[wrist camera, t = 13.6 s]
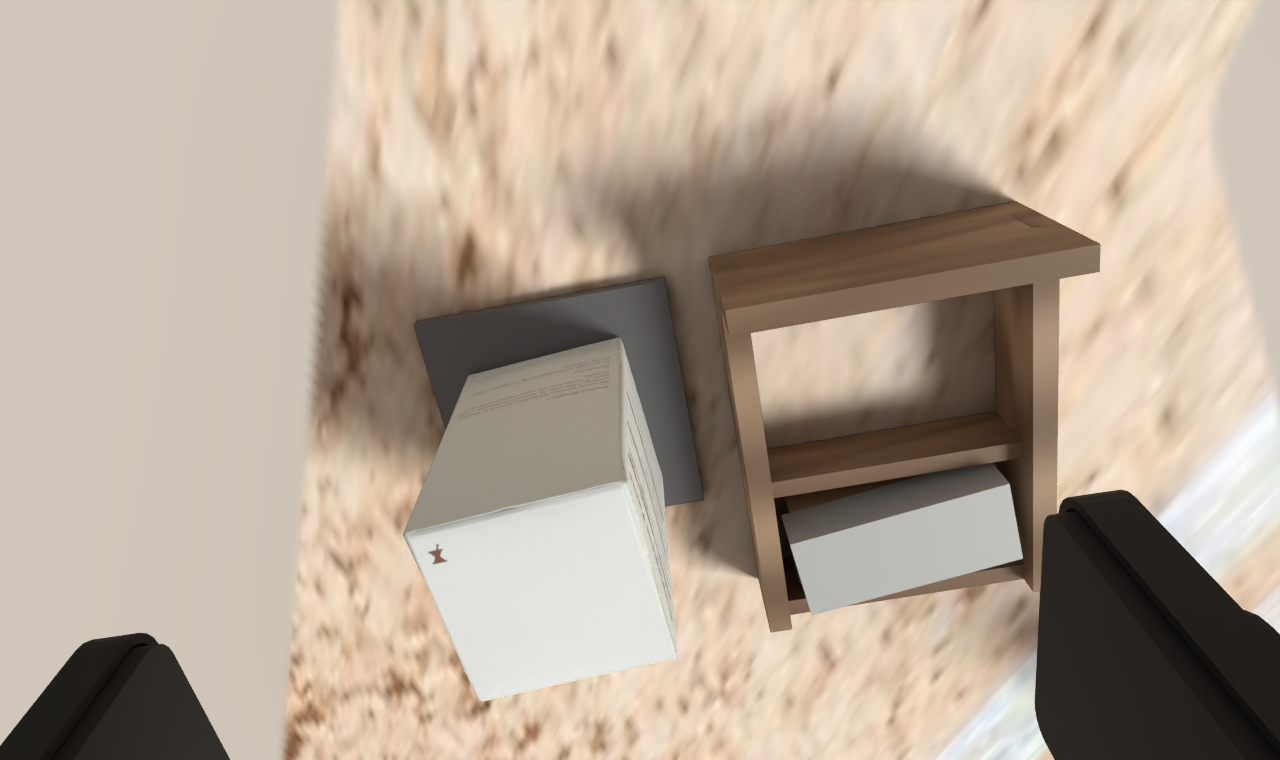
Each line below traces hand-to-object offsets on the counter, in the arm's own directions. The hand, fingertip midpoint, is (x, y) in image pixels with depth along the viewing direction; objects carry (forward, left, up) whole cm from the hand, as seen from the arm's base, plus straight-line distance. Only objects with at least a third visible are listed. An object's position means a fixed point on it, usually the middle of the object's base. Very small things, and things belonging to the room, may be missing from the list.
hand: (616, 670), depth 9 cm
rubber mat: (+10, -5, -29) cm, 30 cm away
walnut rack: (+12, +9, -29) cm, 32 cm away
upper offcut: (+17, +9, -27) cm, 33 cm away
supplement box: (+10, -5, -28) cm, 30 cm away
